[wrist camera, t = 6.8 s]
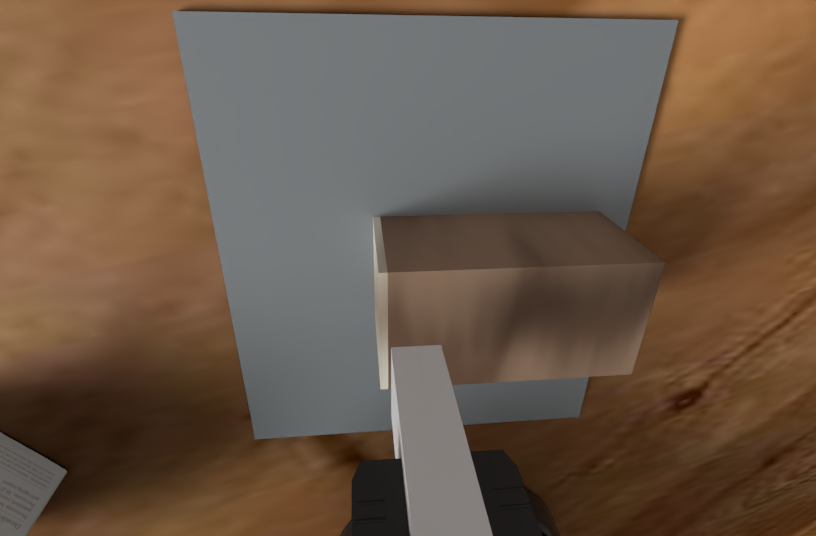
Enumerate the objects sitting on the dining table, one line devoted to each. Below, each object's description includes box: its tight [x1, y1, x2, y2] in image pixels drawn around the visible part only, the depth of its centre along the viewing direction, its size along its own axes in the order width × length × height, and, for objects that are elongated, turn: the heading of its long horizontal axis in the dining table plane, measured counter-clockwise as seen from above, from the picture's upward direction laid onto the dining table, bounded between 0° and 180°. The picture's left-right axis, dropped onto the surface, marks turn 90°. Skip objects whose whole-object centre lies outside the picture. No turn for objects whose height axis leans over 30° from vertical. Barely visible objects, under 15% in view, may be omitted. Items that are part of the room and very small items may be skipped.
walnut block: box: [373, 211, 666, 390], centre depth 19 cm, size 5×5×10 cm
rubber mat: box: [172, 11, 679, 439], centre depth 21 cm, size 20×18×1 cm
